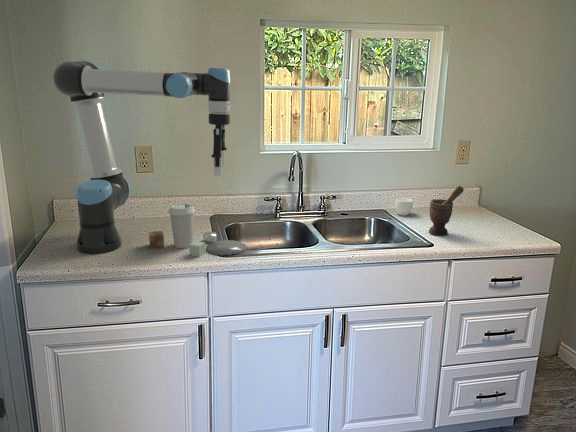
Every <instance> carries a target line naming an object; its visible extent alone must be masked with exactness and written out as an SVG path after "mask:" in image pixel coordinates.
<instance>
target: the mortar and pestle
mask: <svg viewBox="0 0 576 432" xmlns="http://www.w3.org/2000/svg"><path fill="white" fill-rule="evenodd" d="M464 189H465V188H464V187H462V186H461V185H458V186H456V187H455V188H454V190H453V191H452V193H451V194H450V195H449V197H447V199H443V198H435V199H431V200H430V203H429V204H430V205H429V218H430V221H431V223H432V226H431V227H430V228H429V230H428V233H429V234H430V235H431V236H437V237H438V236H440V237H441V236H447V235H448V234H449V231H448V229H447V228H446V224H447V225H448V223H449V222H450V219H451V218H452V213H453V206H454V201H455V200H456V199H457V198H458V197H460V195H462V194H463V193H464Z"/></svg>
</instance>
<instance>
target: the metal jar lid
mask: <svg viewBox="0 0 576 432" xmlns="http://www.w3.org/2000/svg"><path fill="white" fill-rule="evenodd" d="M202 237H203V238H202V240H203V241H202V242H204V243H205V244H207V245H209V244H210V243H213V242H216V241H218V239H217V232H215V231H206V232H203V233H202Z"/></svg>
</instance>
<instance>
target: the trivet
mask: <svg viewBox="0 0 576 432" xmlns="http://www.w3.org/2000/svg"><path fill="white" fill-rule="evenodd" d="M246 250H247V246H246V244H245V243H244V242H242V241H238V240H233V239H231V240H229V239H225V240H224V239H223V240H217V241H216V242H213V243H210V244H207V246H206V252H208V253H209V254H212V255H214V256H224V255H228V256H233V255H232V254H236V255H239V254H242V253H244V252H245V251H246Z"/></svg>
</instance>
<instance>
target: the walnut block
mask: <svg viewBox="0 0 576 432" xmlns="http://www.w3.org/2000/svg"><path fill="white" fill-rule="evenodd" d="M148 237H149V238H148V239H149V249H150V250H155V249H157V250H158V249H165V238H164V237H165V235H164V231H163V230H155V231H148Z"/></svg>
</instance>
